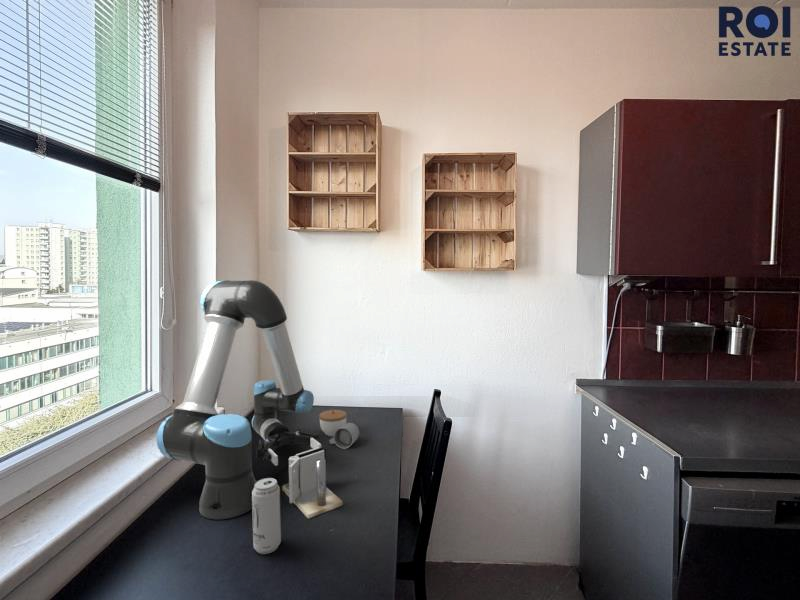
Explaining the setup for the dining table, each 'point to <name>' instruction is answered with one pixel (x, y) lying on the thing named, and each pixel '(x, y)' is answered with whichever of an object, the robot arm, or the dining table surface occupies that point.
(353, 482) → the dining table surface
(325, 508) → the mounting board
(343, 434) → the ceramic mug
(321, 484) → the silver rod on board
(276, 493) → the energy drink can
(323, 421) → the lidded jar
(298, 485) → the hinge
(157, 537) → the dining table surface
